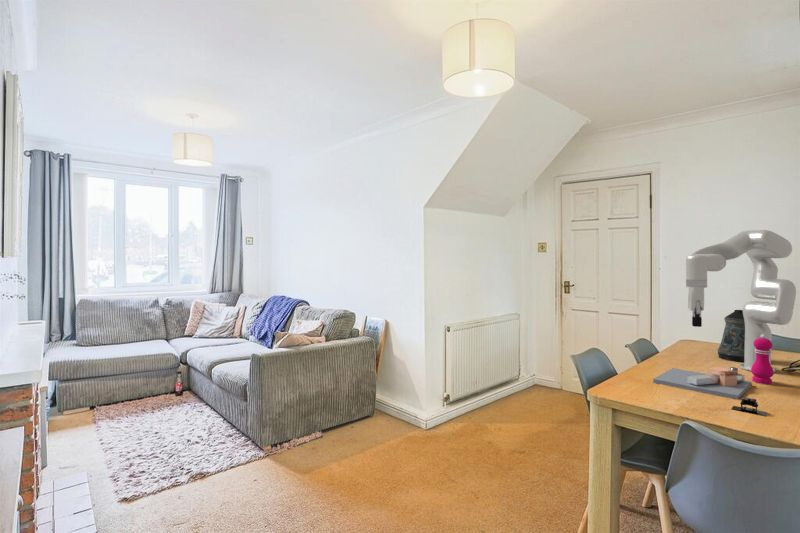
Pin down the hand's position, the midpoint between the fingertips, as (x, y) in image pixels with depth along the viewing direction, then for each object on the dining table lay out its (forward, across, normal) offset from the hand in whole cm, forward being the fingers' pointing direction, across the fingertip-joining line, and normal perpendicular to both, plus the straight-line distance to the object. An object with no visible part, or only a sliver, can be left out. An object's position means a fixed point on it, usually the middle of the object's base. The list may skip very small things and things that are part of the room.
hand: (696, 326), depth 185 cm
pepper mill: (+23, -5, +23) cm, 33 cm away
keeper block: (+22, +11, +7) cm, 26 cm away
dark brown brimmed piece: (+22, +40, +11) cm, 47 cm away
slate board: (+22, +11, 0) cm, 24 cm away
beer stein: (+25, -51, +23) cm, 61 cm away
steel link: (+20, +12, +5) cm, 24 cm away
